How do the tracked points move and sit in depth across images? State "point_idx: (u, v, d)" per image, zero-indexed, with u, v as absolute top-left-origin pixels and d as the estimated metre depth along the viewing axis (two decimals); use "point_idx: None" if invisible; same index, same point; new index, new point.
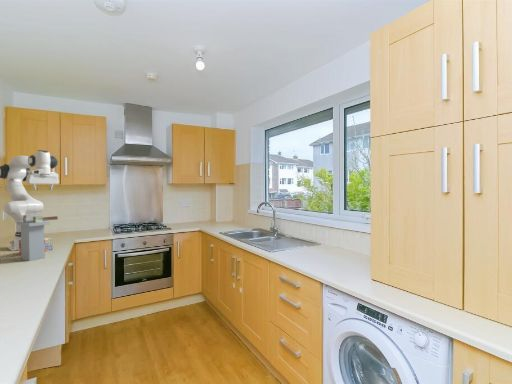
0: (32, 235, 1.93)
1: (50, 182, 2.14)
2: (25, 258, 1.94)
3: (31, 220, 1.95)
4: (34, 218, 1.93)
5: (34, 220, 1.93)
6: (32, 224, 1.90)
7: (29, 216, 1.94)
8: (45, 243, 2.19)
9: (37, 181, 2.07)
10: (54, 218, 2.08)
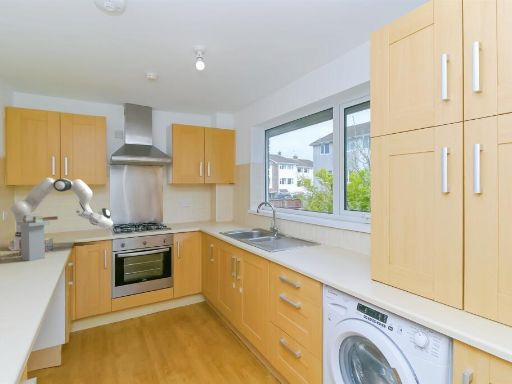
0: (32, 235, 1.93)
1: (82, 216, 2.31)
2: (25, 258, 1.94)
3: (31, 220, 1.95)
4: (34, 218, 1.93)
5: (34, 220, 1.93)
6: (32, 224, 1.90)
7: (29, 216, 1.94)
8: (45, 243, 2.20)
9: (89, 217, 2.28)
10: (54, 218, 2.08)
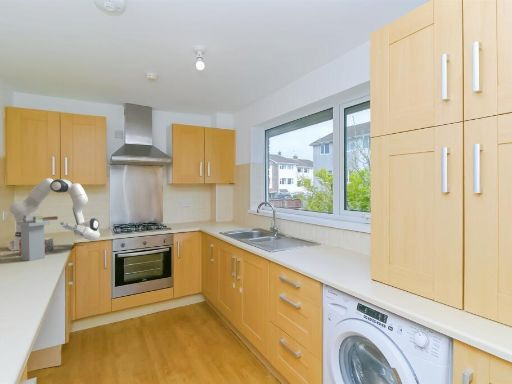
0: (32, 235, 1.93)
1: (67, 228, 2.21)
2: (25, 258, 1.94)
3: (31, 220, 1.95)
4: (34, 218, 1.93)
5: (34, 220, 1.93)
6: (32, 224, 1.90)
7: (29, 216, 1.94)
8: (46, 243, 2.20)
9: (74, 229, 2.18)
10: (54, 218, 2.08)
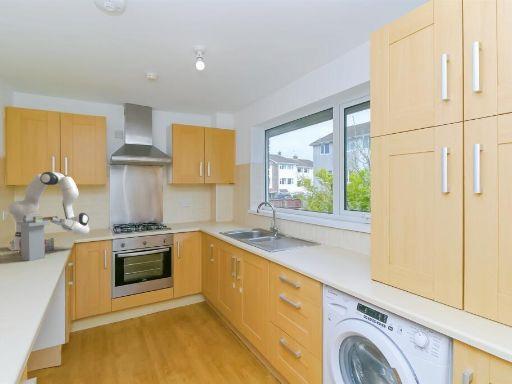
0: (32, 235, 1.93)
1: (54, 222, 2.13)
2: (25, 258, 1.94)
3: (31, 220, 1.95)
4: (34, 218, 1.93)
5: (34, 220, 1.93)
6: (32, 224, 1.90)
7: (29, 216, 1.94)
8: (46, 243, 2.20)
9: (62, 224, 2.10)
10: None
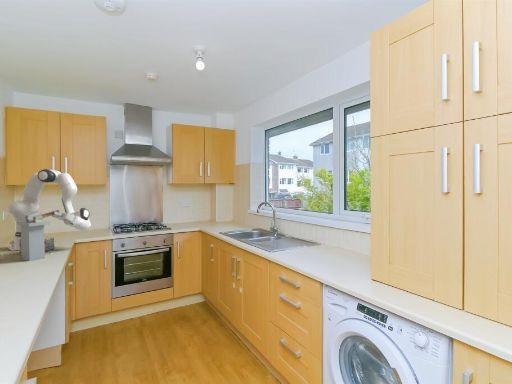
0: (32, 235, 1.93)
1: (56, 217, 2.14)
2: (25, 258, 1.94)
3: None
4: (34, 218, 1.93)
5: (34, 220, 1.93)
6: (32, 224, 1.90)
7: (31, 215, 1.94)
8: (46, 243, 2.21)
9: (63, 218, 2.11)
10: None
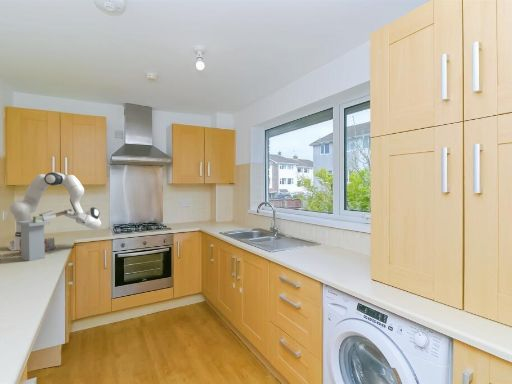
0: (32, 235, 1.93)
1: (68, 216, 2.22)
2: (25, 258, 1.94)
3: (48, 217, 2.04)
4: (34, 218, 1.93)
5: (34, 220, 1.93)
6: (32, 224, 1.90)
7: (45, 214, 2.02)
8: (46, 243, 2.21)
9: (76, 217, 2.18)
10: None
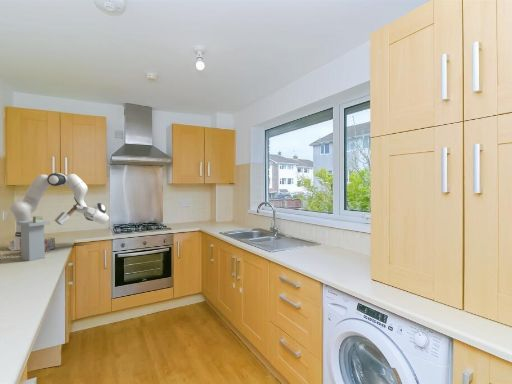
0: (32, 235, 1.93)
1: (77, 210, 2.28)
2: (25, 258, 1.94)
3: (64, 220, 2.13)
4: (34, 218, 1.93)
5: (34, 220, 1.93)
6: (32, 224, 1.90)
7: (60, 219, 2.11)
8: (47, 242, 2.21)
9: (85, 211, 2.24)
10: None
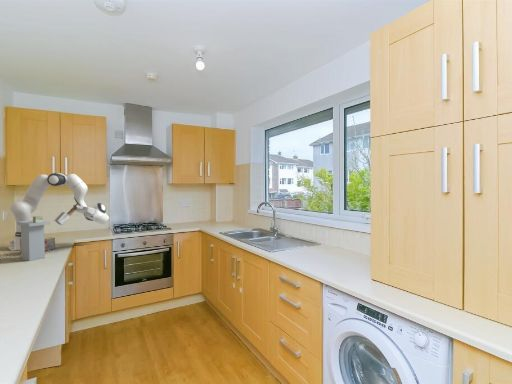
0: (32, 235, 1.93)
1: (77, 210, 2.28)
2: (25, 258, 1.94)
3: (64, 220, 2.13)
4: (34, 218, 1.93)
5: (34, 220, 1.93)
6: (32, 224, 1.90)
7: (60, 219, 2.11)
8: (47, 242, 2.21)
9: (85, 211, 2.24)
10: None
